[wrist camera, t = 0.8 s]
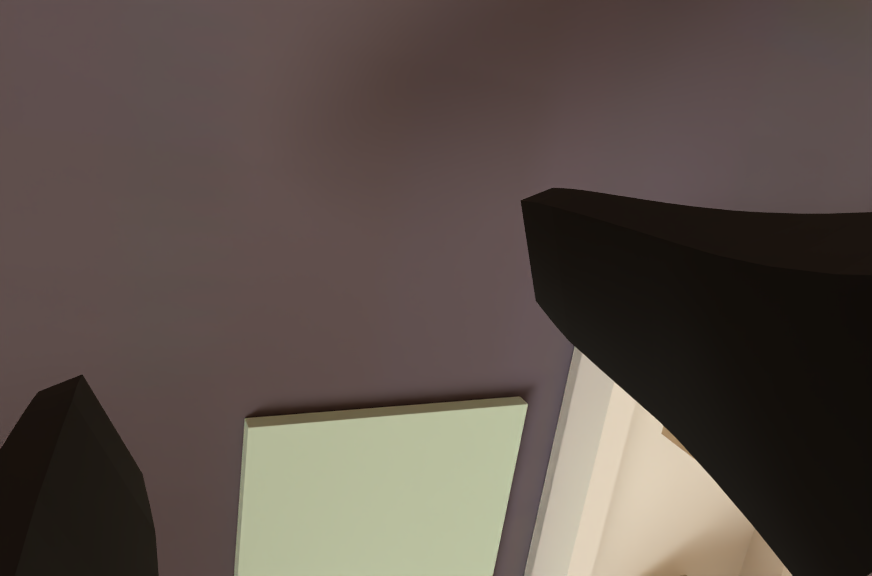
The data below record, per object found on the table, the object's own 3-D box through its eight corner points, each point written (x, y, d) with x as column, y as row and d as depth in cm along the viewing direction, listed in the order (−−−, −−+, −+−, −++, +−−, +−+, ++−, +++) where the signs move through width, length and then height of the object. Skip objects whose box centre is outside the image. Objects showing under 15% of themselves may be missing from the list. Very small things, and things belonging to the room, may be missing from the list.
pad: (468, 650, 30) (475, 661, 30) (224, 710, 26) (227, 724, 26) (519, 396, 27) (527, 403, 26) (244, 417, 22) (248, 427, 22)
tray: (718, 652, 39) (755, 690, 36) (491, 720, 33) (519, 770, 30) (844, 279, 32) (898, 299, 30) (589, 279, 26) (633, 304, 24)
